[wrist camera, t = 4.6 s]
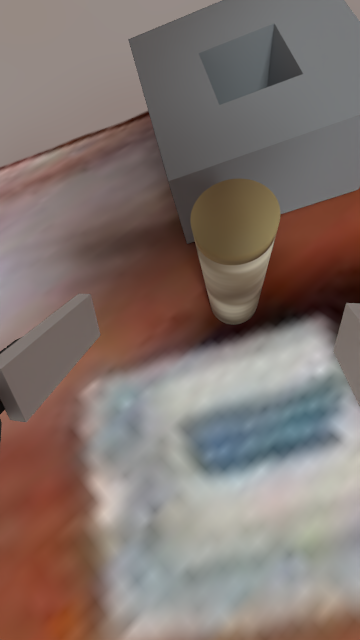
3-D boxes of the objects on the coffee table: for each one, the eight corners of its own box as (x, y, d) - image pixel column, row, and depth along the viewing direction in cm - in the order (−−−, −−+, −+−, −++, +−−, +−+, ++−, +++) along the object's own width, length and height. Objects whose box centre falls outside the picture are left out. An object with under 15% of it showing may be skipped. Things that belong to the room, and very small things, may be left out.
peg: (249, 275, 24) (263, 167, 13) (263, 317, 23) (293, 238, 11) (205, 288, 24) (181, 195, 13) (217, 329, 23) (202, 266, 12)
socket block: (294, 74, 29) (315, -39, 22) (357, 189, 24) (414, 95, 17) (154, 126, 31) (128, 39, 23) (187, 243, 26) (168, 181, 18)
